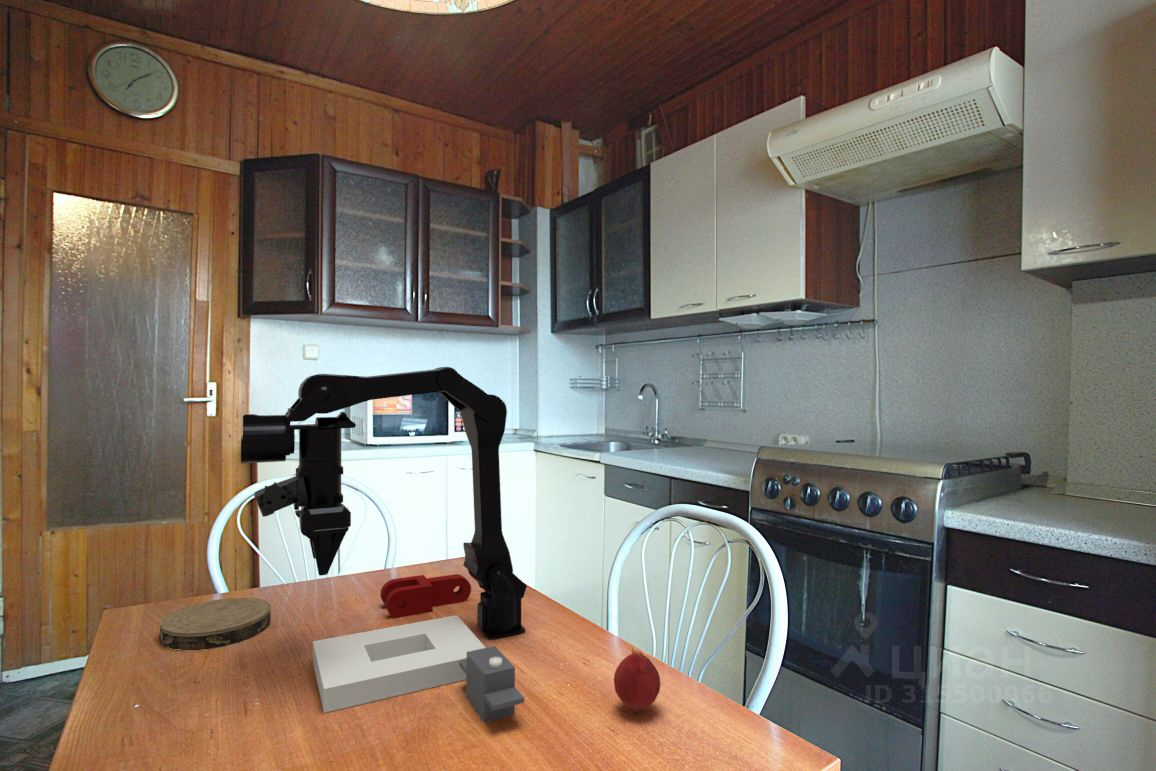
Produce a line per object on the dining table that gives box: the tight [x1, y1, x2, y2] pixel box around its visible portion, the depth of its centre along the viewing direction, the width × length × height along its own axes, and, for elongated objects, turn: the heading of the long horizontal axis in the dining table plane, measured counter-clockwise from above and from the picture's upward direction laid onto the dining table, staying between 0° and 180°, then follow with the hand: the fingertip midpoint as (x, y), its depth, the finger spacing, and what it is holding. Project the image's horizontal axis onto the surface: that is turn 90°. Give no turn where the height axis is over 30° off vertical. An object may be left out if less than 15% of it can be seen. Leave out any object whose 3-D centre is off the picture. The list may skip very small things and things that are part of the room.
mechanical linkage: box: [379, 573, 472, 619], centre depth 113 cm, size 16×7×5 cm, turn 117°
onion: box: [613, 646, 661, 713], centre depth 76 cm, size 6×6×8 cm
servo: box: [460, 645, 525, 724], centre depth 78 cm, size 13×4×7 cm, turn 28°
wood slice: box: [159, 596, 271, 651], centre depth 101 cm, size 16×16×3 cm
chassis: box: [312, 615, 487, 714], centre depth 88 cm, size 22×16×3 cm
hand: (320, 566), depth 88 cm, fingers open, 9 cm apart
